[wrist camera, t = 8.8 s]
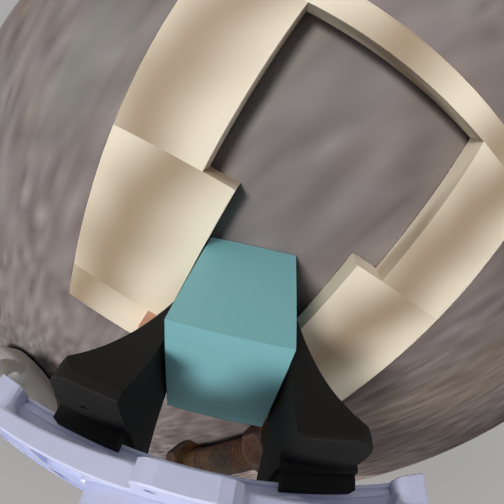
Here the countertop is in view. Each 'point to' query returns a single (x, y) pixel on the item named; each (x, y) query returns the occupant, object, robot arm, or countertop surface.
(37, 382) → the teacup
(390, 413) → the countertop surface
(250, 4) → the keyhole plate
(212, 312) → the slider block
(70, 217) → the countertop surface
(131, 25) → the countertop surface
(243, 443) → the bolt
